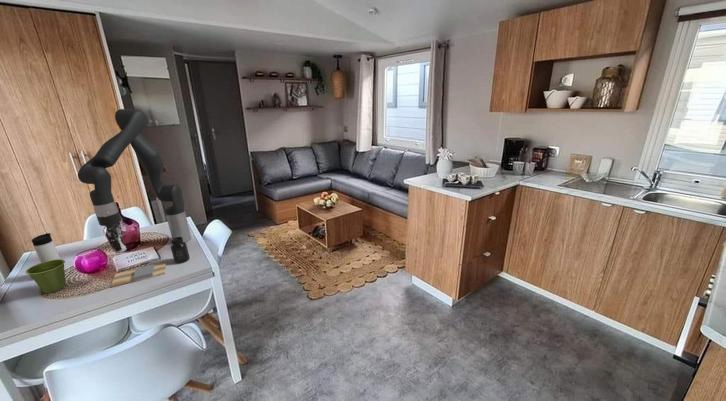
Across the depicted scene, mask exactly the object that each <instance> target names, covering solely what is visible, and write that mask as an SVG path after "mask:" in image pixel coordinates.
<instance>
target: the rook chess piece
mask: <svg viewBox="0 0 726 401" xmlns="http://www.w3.org/2000/svg"><path fill="white" fill-rule="evenodd" d="M115 236H116V235H115ZM118 238H119V242H120V245H121V248H122V249H121V250H120V251H115V249H114V248H113V251H114V253H116V254H120V253H123V252H125V251H127V246H126V245H125V243H124V244H122V242H121V239H120V235H119V237H118ZM113 241H115V240H113Z"/></svg>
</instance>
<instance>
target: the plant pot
mask: <svg viewBox="0 0 726 401" xmlns="http://www.w3.org/2000/svg"><path fill="white" fill-rule="evenodd" d="M65 263H66V260H65V259H62V258H60V259H56V260H50V261H46V262H42V263H41V262H40V263H37V264H34V265H33V266H30V267H29V268H28V269H26V271H25V274H26V275H29V277H30V278H31V279H33V281H34V282H35V283H36V285H37V286H38V287H39V289H40V290H41V291H42V293H44V294H51V293H55V292H58V291H60V290H61V289H64V288H65V287H66V285H67V283H66V275H65V273H66V272H65V273H64V269H65Z"/></svg>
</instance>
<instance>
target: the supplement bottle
mask: <svg viewBox="0 0 726 401" xmlns="http://www.w3.org/2000/svg"><path fill="white" fill-rule="evenodd" d="M170 242H171V245H170V250H171V254H172V257H173V261H174V263H176V264H182V263H186V262H188V261H189V260H190V259H191V258H190V253H189V249H188V246H187V245H188V244H187V242H183V239H182V237H176V238H173V239H172V238H171V239H170Z"/></svg>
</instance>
